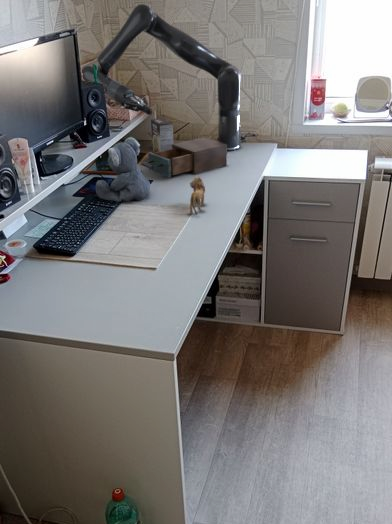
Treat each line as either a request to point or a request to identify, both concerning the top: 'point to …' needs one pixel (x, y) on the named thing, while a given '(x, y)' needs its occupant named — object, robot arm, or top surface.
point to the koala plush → (124, 174)
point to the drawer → (169, 162)
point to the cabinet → (205, 153)
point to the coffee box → (161, 134)
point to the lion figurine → (197, 194)
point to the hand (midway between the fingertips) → (151, 112)
